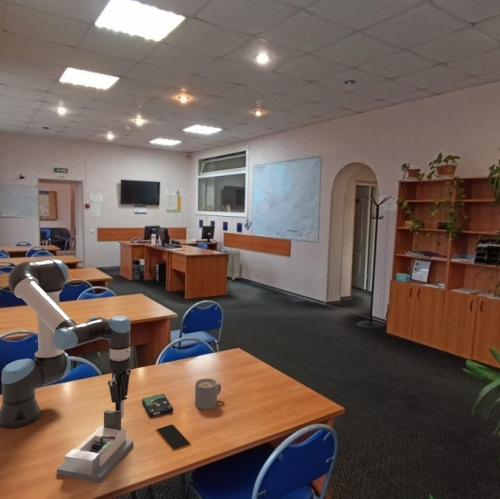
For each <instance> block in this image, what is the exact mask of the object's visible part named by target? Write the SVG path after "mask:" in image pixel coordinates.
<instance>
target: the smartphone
mask: <svg viewBox="0 0 500 499" xmlns="http://www.w3.org/2000/svg"><path fill="white" fill-rule="evenodd" d="M155 432H157V434H158V435H159V436H160V437H161V438H162V440H163V441H164V442H165V443H166V444H167V446H168V447H169V448H170V450H171V451H173V452H175V451H179V450H181V449H184V448H187V447H190V446H191V445H192V443H191V442H190V441H189V440H188V439H187V438H186V437H185V436H184V434H182V433H181V431H180V430H179V429H178V428H177V427H176V425H174V424H172V423H171V424H168V425H165V426H162V427H159V428H156V429H155Z"/></svg>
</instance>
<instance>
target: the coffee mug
mask: <svg viewBox="0 0 500 499" xmlns="http://www.w3.org/2000/svg"><path fill="white" fill-rule="evenodd" d="M194 388H195V390H194V394H195V395H194V405H195V408H198V409H199V410H211V409H214V408H215V407H216V406H218V395H219V394H220V393H221V391H222V384H221V382H218V381H217V380H215V379H213V378H207V377H206V378H205V377H204V378H200V379H197V380H196V381H195V387H194Z"/></svg>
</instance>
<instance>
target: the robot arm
mask: <svg viewBox="0 0 500 499" xmlns="http://www.w3.org/2000/svg"><path fill="white" fill-rule="evenodd" d="M9 272H10V273H9V275H8V280H7V283H8V287H9V289H10V291H11V293H12V294H13V295H14V296H15V298H17V299H22V300H23V301H24V303H26V305H27V306H28V307H29V308H30V309H31V310H32V311H33V312H34V313H35V315H36V316H37V317H36V318H37V344H38V346H37V347H38V348H37V349H38V350H37V351H36V352H35V353H34V360H33V359H31V358H22V359H17V360H14V361H11V362H10V363H8V364H6V365H5V366H4V367H3V369H2V371H1V378H0V381H1V400H2V402H1V403H2V404H1V406H0V427H1V428H4V429H15V428H22V427H24V426H27V425H31V424H32V423H34V422H36V421H37V420H38V419H39V418H40V416H41V409H40V406H39V403H38V401H37V399H36V390H37V389H40V388H42V387H45V386H47V385H51V384H53V383H56V382H59V381H60V380H63V379H64V378H66V377H67V376H68V375H69V373H70V371H71V366H72V365H71V358H70V355H69V354H68V353H67V352H65V350H69V349H73V348H75V347H78V346H81V345H85V344H89V343H91V342H95V341H97V340H104V341H105V340H106V341H109V343H108V344H109V345H108V346H109V350H108V352H109V353H108V357H109V361H108V362H109V364H108V366H109V369H110V370H111V371H112V373H111V379H110V380H107V386H108V387H109V392H110V398H111V403H112V404H115V408H114V409H115V410H114V411H116V412H121V419H123V418H124V416H125V400H127V398H128V397H127V396H128V393H129V384H130V383H129V382H130V375H131V372H132V370H131V369H129V368H130V367H131V319H130V317H128V316H125V315H115V316H112V317H110V319H108V318H104V317H101V316H92V317H90V318H88V320H87V321H85V322H81V323H76V321H74V320H73V319H72V318H71V317H70V316H69V315H68V313H66V311H64V309H62V308H61V307H60V294H61V293H62V292H63V290H64V289H63V288H64V286H63V285H66V284H67V283H68V281H69V271H68V268H67V266H66V265H65V263H64V262H63V261H62V260H61V259H60V260H59V259H55V258H54V259H50V258H49V259H40V260H39V259H38V260H33V261H32V260H31V261H23V262H20V263H18V264H17V265H15V266H14V267H13V268H12V269H11V271H9Z"/></svg>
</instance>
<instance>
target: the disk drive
mask: <svg viewBox="0 0 500 499" xmlns="http://www.w3.org/2000/svg"><path fill="white" fill-rule="evenodd" d="M141 403H142V405H143V407H144V409H145V411H146V413H147V415H148V418H155V417H159V416H163V415H168V414H172V413H173V412H174V407H173V405H172V404H171V403H170V401H169V399H168V398H167V397H166V395H165V394H164V393H162V394H156V395H155V394H154V395H152V396H148V397H142V399H141Z"/></svg>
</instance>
